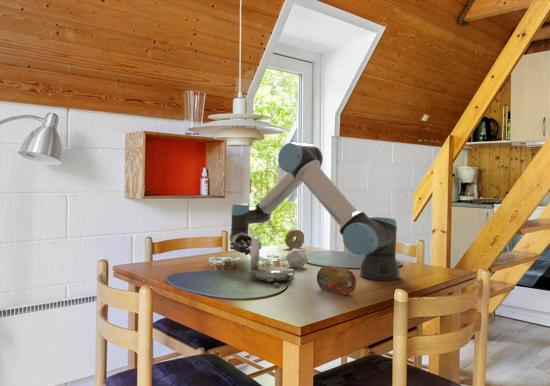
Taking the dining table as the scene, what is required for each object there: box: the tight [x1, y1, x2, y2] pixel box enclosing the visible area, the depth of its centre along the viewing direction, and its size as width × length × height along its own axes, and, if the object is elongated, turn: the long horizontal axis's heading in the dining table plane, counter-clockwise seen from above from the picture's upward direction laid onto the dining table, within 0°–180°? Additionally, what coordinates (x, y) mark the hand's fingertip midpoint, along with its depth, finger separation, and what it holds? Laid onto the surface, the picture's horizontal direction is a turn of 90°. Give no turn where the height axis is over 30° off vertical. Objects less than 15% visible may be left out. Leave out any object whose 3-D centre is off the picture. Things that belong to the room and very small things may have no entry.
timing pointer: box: [273, 281, 280, 288], centre depth 169 cm, size 4×1×1 cm, turn 9°
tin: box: [316, 266, 357, 296], centre depth 162 cm, size 15×3×8 cm, turn 44°
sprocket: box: [248, 236, 295, 282], centre depth 179 cm, size 18×16×14 cm
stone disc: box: [284, 229, 305, 250], centre depth 252 cm, size 10×4×10 cm, turn 114°
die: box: [285, 248, 309, 270], centre depth 203 cm, size 8×9×10 cm
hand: (252, 253), depth 181 cm, fingers closed
